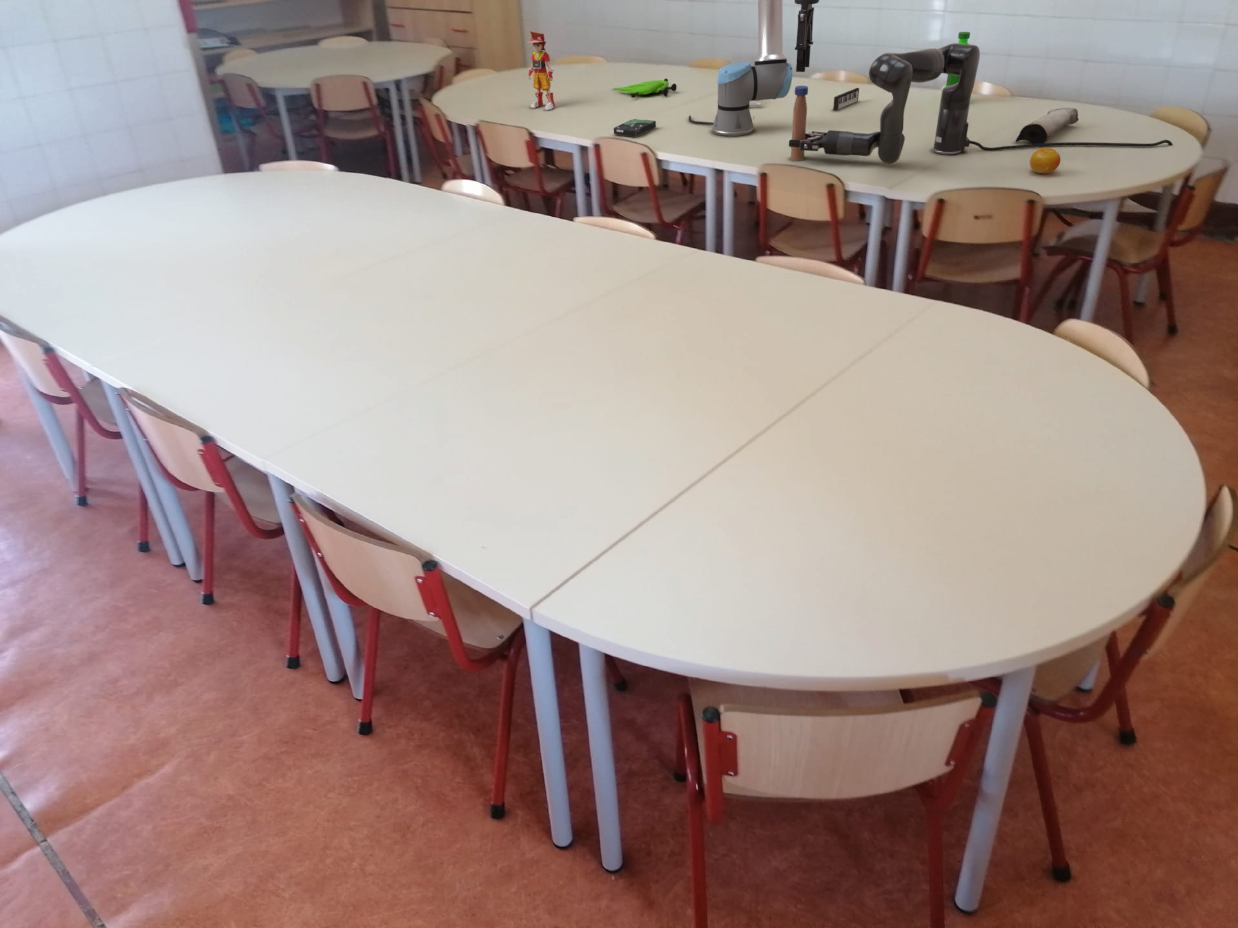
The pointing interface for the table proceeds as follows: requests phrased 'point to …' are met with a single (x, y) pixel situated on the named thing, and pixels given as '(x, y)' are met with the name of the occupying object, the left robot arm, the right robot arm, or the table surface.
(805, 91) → the cap
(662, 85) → the toy
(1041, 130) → the rolled mat
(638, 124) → the disk drive
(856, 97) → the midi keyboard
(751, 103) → the anatomical model
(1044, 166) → the fruit
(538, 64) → the toy
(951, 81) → the plastic bottle
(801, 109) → the bottle
